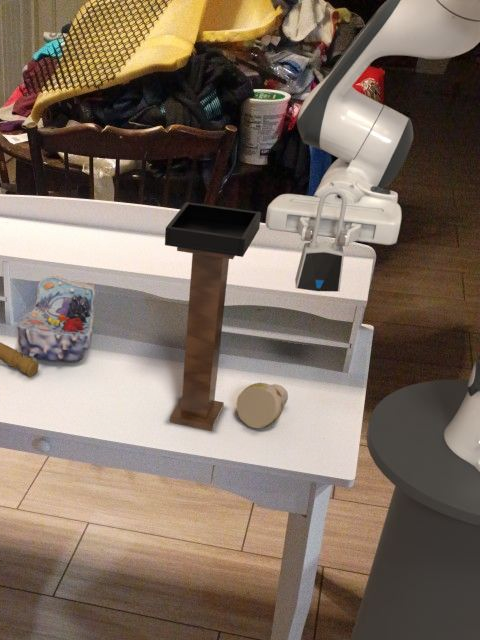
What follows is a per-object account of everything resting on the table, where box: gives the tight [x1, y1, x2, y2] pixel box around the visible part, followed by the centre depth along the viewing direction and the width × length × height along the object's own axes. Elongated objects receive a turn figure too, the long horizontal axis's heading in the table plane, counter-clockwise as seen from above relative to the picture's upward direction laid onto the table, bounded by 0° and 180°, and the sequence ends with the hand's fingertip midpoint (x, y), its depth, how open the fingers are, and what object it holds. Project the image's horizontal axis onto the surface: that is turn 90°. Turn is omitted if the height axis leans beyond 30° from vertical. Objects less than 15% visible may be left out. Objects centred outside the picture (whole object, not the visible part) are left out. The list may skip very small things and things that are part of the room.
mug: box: [236, 382, 289, 429], centre depth 136 cm, size 8×10×10 cm
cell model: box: [16, 275, 96, 363], centre depth 152 cm, size 13×11×20 cm
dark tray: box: [164, 201, 262, 258], centre depth 118 cm, size 11×10×2 cm
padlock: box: [294, 189, 347, 292], centre depth 128 cm, size 7×4×15 cm, turn 81°
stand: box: [169, 247, 236, 432], centre depth 129 cm, size 8×8×30 cm
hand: (325, 238), depth 127 cm, fingers closed on padlock, 4 cm apart
